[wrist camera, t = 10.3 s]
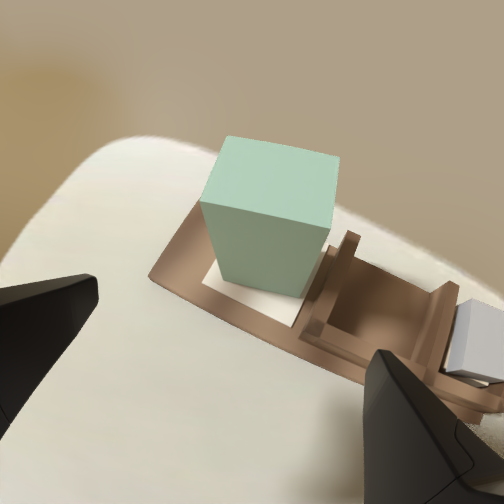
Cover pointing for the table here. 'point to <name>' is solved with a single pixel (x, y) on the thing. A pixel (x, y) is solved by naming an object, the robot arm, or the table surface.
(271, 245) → the mint green block
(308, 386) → the table surface
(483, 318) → the grey offcut slab
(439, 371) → the birch offcut slab
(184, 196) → the table surface
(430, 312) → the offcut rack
